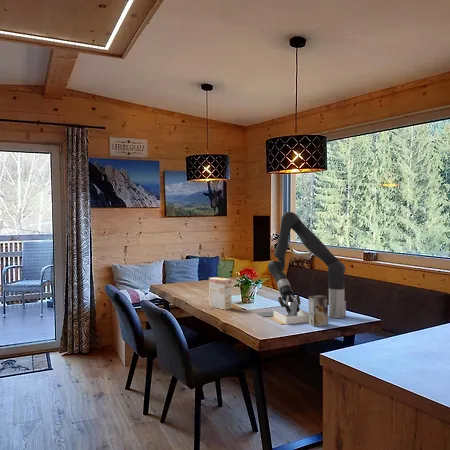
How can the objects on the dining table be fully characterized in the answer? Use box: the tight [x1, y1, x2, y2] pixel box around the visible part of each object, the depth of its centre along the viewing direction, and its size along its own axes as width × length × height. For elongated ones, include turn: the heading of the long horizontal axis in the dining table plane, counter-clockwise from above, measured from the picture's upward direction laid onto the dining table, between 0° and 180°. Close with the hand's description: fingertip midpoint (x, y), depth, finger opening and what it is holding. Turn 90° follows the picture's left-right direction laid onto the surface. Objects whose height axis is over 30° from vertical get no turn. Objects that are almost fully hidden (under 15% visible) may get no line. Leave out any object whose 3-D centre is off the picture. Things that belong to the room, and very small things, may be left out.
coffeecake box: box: [208, 276, 233, 311], centre depth 288 cm, size 15×7×20 cm, turn 44°
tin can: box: [287, 300, 298, 317], centre depth 256 cm, size 6×6×10 cm
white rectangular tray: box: [268, 308, 309, 325], centre depth 257 cm, size 23×18×4 cm
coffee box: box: [308, 294, 329, 327], centre depth 244 cm, size 9×6×16 cm
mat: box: [256, 311, 274, 318], centre depth 268 cm, size 10×10×1 cm
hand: (294, 311), depth 254 cm, fingers closed on tin can, 5 cm apart
